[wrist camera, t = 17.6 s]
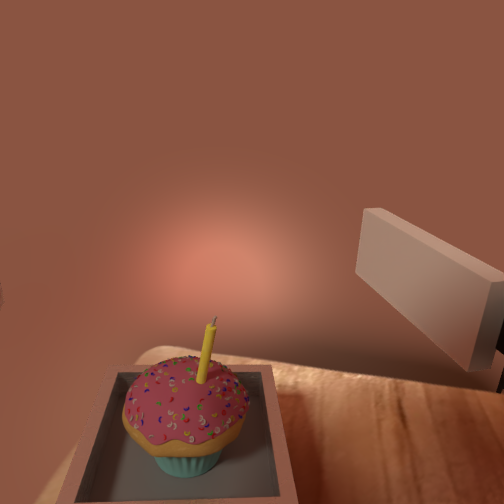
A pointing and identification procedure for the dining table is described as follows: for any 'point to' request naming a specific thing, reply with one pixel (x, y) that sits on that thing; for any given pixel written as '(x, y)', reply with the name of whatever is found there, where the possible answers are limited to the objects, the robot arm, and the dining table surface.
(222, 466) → the gray open box
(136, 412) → the cupcake
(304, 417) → the dining table surface
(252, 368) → the collar
